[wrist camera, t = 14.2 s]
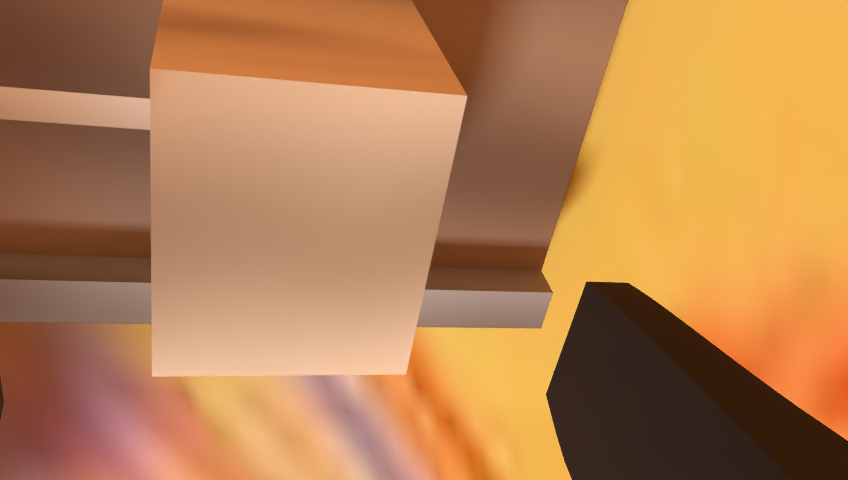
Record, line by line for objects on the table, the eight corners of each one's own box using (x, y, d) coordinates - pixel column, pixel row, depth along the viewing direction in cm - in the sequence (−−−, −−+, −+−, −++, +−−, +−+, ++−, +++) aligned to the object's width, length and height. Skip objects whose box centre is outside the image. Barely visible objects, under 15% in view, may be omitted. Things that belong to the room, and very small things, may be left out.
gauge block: (371, 239, 17) (405, 373, 13) (166, 232, 15) (151, 376, 12) (411, -1, 14) (467, 96, 11) (169, -29, 13) (149, 68, 10)
